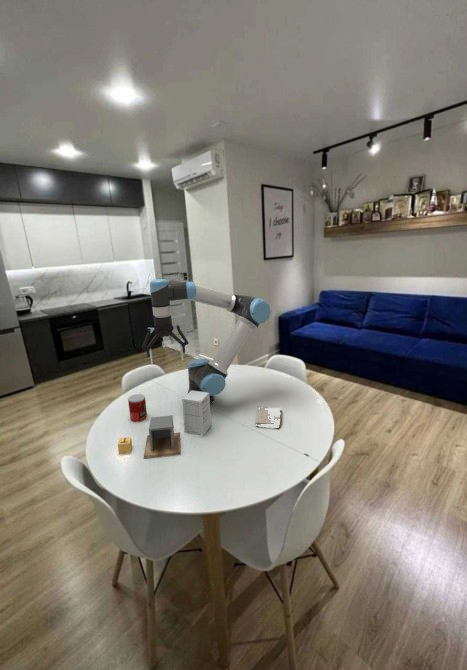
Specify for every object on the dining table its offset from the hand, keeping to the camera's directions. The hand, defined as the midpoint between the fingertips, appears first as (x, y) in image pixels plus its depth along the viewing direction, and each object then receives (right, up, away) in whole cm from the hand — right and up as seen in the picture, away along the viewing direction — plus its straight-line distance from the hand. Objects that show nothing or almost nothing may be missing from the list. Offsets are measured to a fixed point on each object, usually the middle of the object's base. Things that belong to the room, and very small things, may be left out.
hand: (167, 361), depth 137 cm
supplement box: (+14, -31, +1) cm, 34 cm away
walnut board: (+1, -34, -11) cm, 36 cm away
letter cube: (-14, -35, -13) cm, 40 cm away
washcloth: (+47, -29, +9) cm, 56 cm away
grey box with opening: (+1, -33, -11) cm, 35 cm away
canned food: (-16, -29, +11) cm, 35 cm away
